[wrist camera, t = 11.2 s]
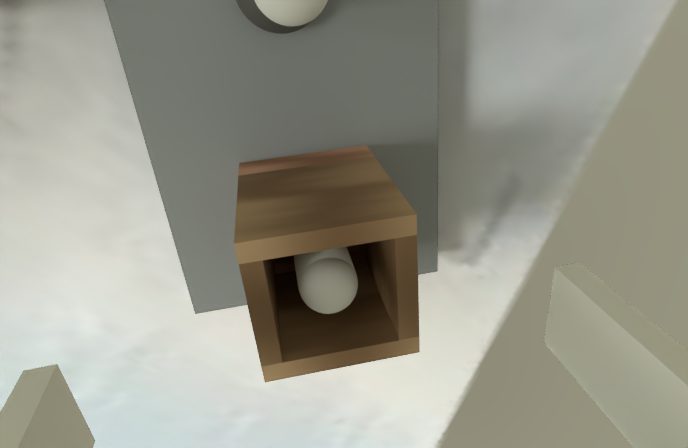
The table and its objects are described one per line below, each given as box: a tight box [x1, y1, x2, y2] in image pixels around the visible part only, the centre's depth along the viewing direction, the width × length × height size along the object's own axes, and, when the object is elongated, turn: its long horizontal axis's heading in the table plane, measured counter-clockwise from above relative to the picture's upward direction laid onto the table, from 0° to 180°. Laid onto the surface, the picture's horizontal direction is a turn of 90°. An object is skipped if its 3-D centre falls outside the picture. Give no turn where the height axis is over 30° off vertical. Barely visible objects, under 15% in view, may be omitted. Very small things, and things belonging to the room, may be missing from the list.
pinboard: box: [104, 0, 438, 314], centre depth 17 cm, size 12×18×8 cm, turn 5°
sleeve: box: [234, 145, 419, 382], centre depth 18 cm, size 5×5×7 cm
